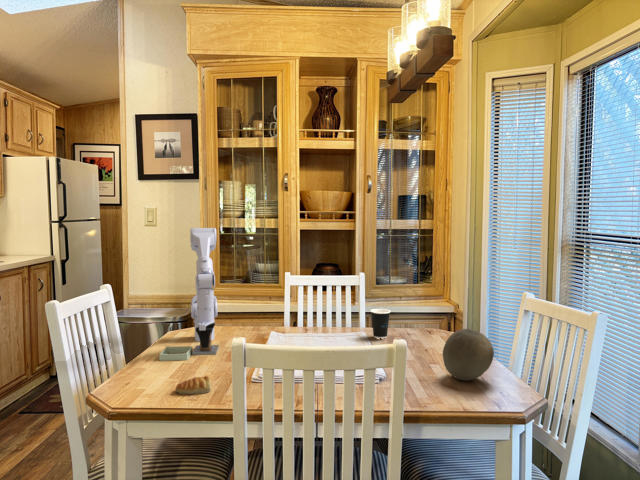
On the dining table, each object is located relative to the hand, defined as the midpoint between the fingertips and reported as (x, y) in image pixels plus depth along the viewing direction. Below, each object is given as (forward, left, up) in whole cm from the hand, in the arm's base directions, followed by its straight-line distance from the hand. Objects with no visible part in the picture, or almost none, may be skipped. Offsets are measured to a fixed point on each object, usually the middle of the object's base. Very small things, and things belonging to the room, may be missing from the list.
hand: (205, 345), depth 163 cm
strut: (0, 0, -2) cm, 2 cm away
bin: (+5, -9, -3) cm, 11 cm away
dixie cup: (-17, +66, -3) cm, 68 cm away
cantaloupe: (+31, +82, -3) cm, 88 cm away
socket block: (0, 0, -3) cm, 3 cm away
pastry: (+34, +3, -3) cm, 34 cm away
